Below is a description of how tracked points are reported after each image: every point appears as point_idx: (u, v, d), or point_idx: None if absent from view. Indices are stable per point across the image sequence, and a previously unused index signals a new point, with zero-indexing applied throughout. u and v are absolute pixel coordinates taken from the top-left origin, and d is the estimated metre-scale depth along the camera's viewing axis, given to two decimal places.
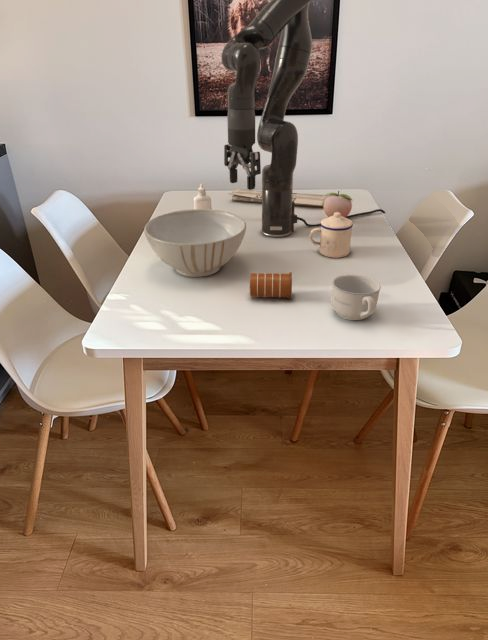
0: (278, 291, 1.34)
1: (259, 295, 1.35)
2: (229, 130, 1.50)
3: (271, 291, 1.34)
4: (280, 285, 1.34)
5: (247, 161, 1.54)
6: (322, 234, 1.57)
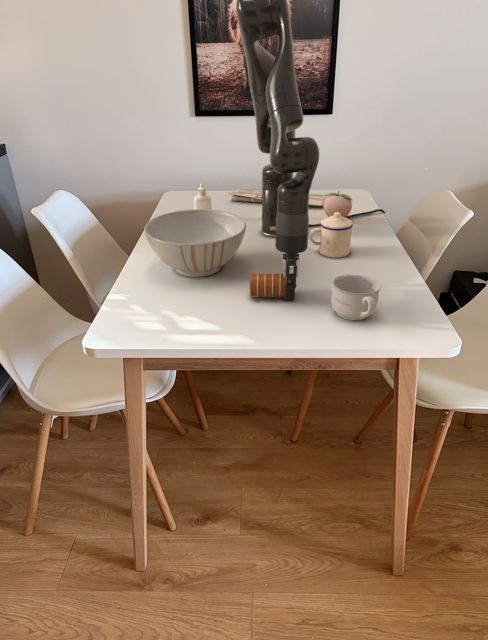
0: (278, 291, 1.34)
1: (259, 295, 1.35)
2: None
3: (271, 291, 1.34)
4: (280, 285, 1.34)
5: None
6: (322, 234, 1.57)
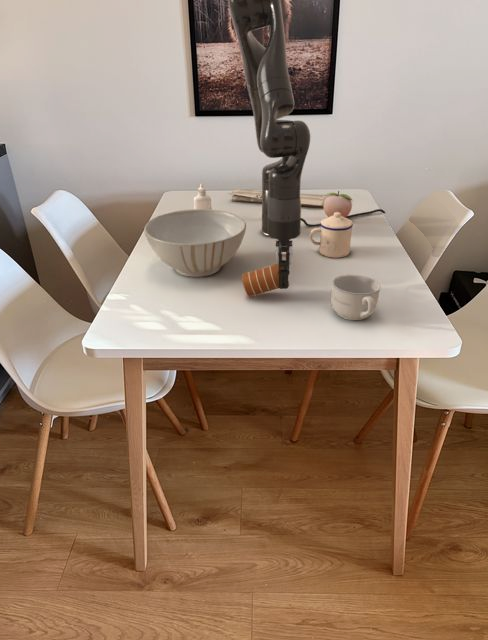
0: (272, 283, 1.33)
1: (256, 292, 1.35)
2: None
3: (266, 286, 1.33)
4: (272, 277, 1.32)
5: None
6: (322, 234, 1.57)
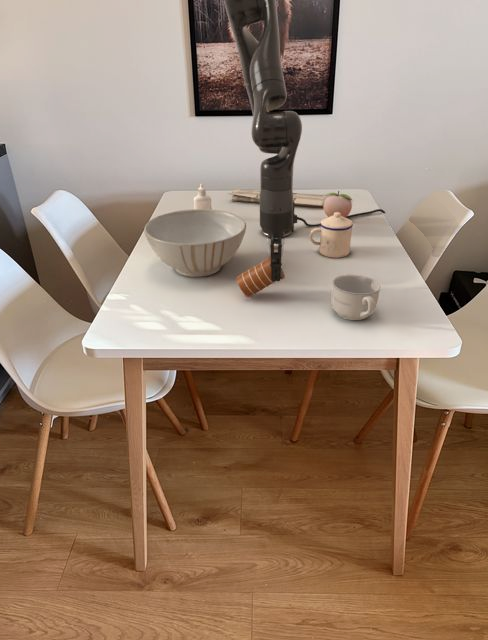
0: (266, 278, 1.32)
1: (254, 291, 1.35)
2: None
3: (261, 282, 1.33)
4: (265, 272, 1.32)
5: None
6: (322, 234, 1.57)
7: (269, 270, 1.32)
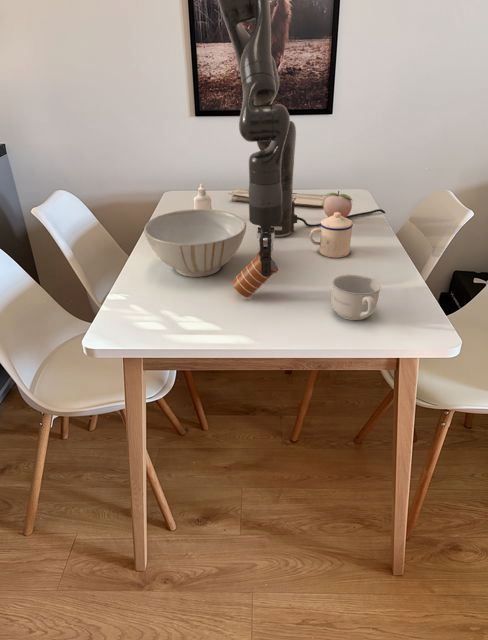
0: (259, 275, 1.32)
1: (251, 291, 1.35)
2: None
3: (255, 281, 1.33)
4: (256, 270, 1.32)
5: None
6: (322, 234, 1.57)
7: (260, 266, 1.31)
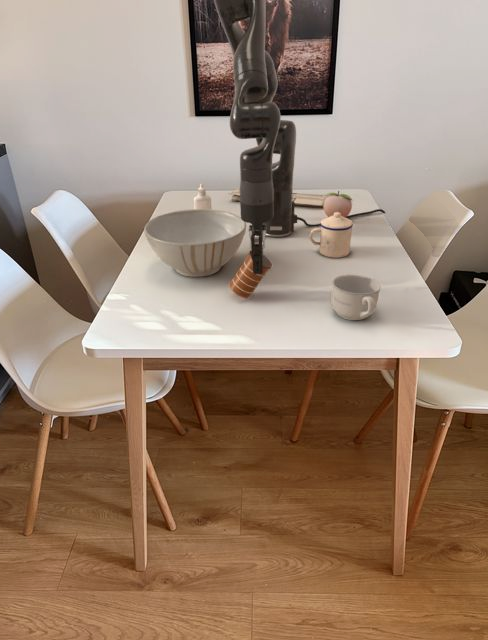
0: (254, 274, 1.32)
1: (249, 291, 1.35)
2: None
3: (251, 280, 1.33)
4: (250, 269, 1.32)
5: None
6: (322, 234, 1.57)
7: None
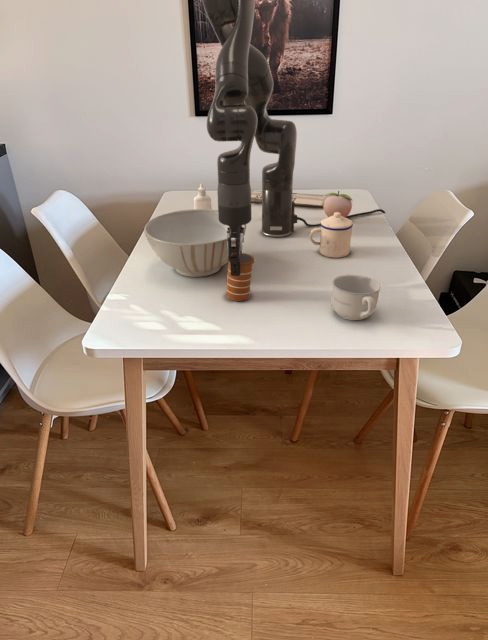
0: (240, 275, 1.32)
1: (244, 292, 1.35)
2: None
3: (240, 282, 1.33)
4: None
5: None
6: (322, 234, 1.57)
7: None
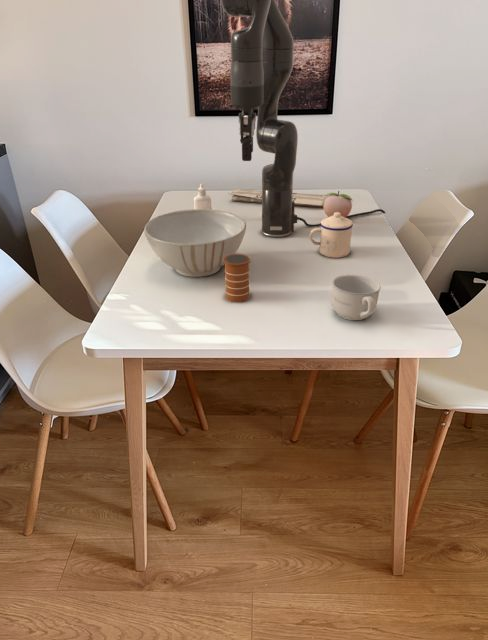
0: (237, 276, 1.33)
1: (243, 292, 1.35)
2: None
3: (238, 283, 1.33)
4: (231, 273, 1.33)
5: None
6: (322, 234, 1.57)
7: (231, 269, 1.32)
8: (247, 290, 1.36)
